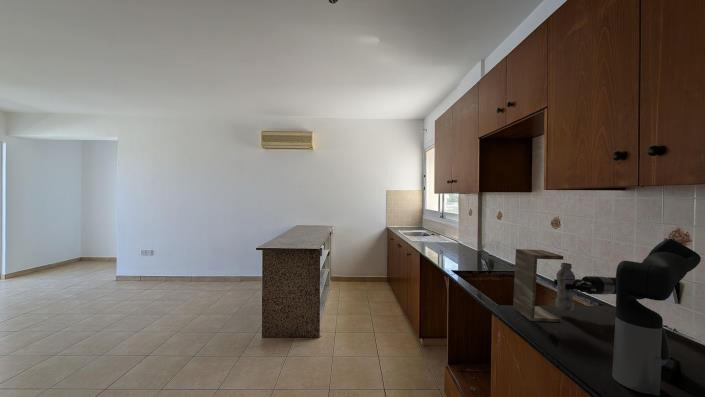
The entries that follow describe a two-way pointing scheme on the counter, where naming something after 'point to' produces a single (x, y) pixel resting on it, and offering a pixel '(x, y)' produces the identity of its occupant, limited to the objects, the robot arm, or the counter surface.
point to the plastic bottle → (564, 295)
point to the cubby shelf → (530, 284)
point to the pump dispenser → (664, 348)
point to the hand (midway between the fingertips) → (560, 284)
